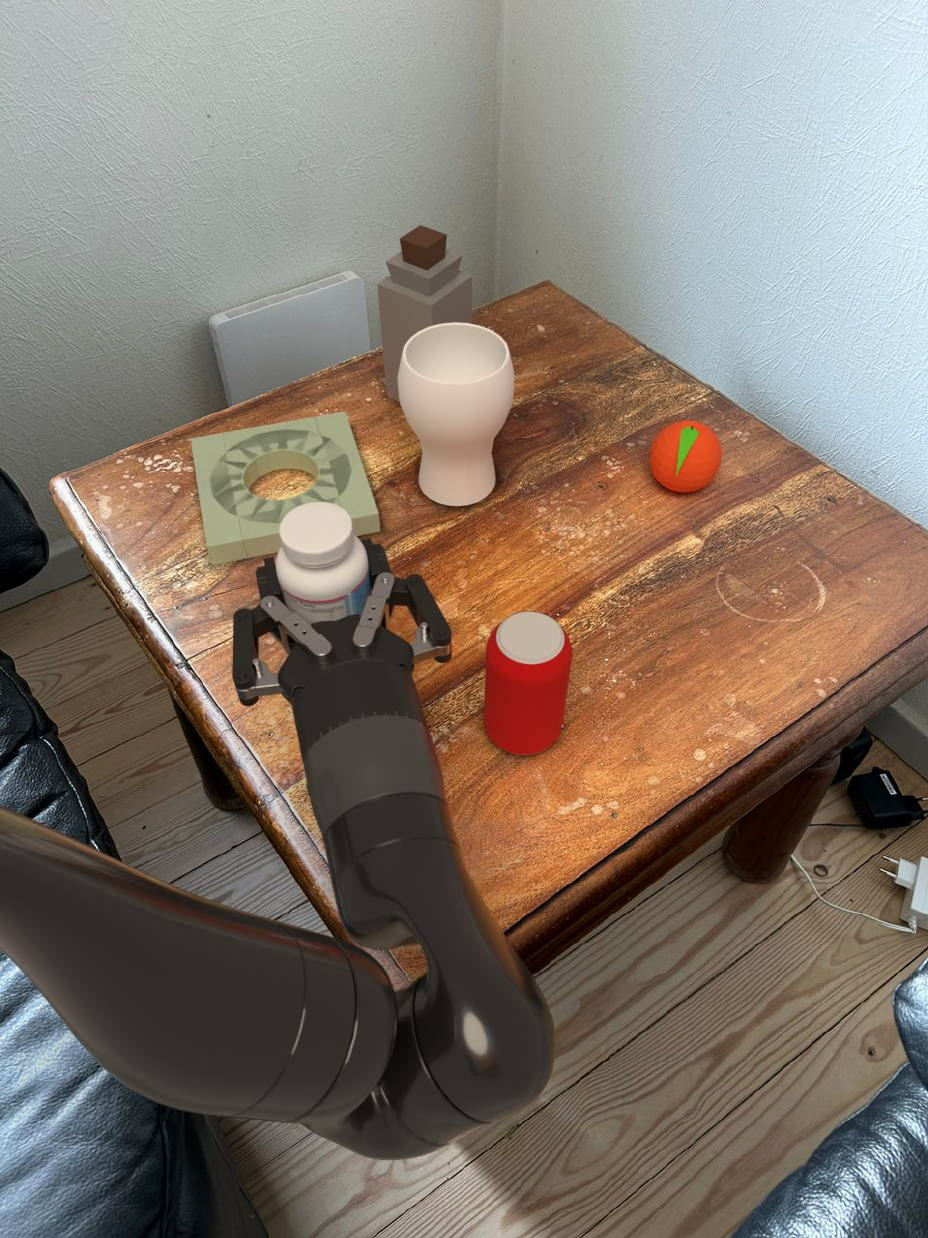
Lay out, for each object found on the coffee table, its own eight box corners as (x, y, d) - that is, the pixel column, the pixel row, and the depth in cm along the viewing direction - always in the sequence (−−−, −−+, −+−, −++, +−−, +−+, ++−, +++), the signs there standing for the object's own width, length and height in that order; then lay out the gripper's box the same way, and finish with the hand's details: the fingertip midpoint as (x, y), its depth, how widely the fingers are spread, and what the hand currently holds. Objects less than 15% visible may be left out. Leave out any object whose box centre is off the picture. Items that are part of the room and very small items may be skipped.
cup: (506, 445, 96) (512, 317, 85) (513, 516, 89) (520, 387, 78) (405, 447, 96) (396, 319, 84) (403, 518, 89) (394, 389, 78)
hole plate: (212, 565, 85) (206, 546, 83) (195, 457, 95) (190, 438, 93) (380, 531, 88) (378, 512, 86) (347, 429, 98) (345, 410, 96)
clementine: (703, 521, 89) (718, 465, 83) (633, 503, 91) (644, 446, 85) (720, 470, 94) (736, 413, 88) (653, 454, 95) (665, 397, 90)
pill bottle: (339, 593, 69) (323, 479, 60) (393, 638, 66) (384, 526, 58) (274, 637, 66) (247, 524, 58) (328, 686, 64) (308, 575, 55)
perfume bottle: (423, 366, 105) (417, 212, 91) (471, 387, 103) (472, 232, 89) (386, 396, 102) (373, 240, 88) (435, 418, 99) (430, 261, 85)
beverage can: (570, 754, 72) (585, 661, 63) (493, 768, 71) (497, 677, 62) (549, 691, 76) (561, 596, 67) (476, 704, 75) (477, 609, 66)
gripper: (490, 693, 51) (417, 496, 62) (231, 753, 49) (200, 537, 59) (487, 763, 57) (421, 572, 67) (255, 820, 54) (223, 613, 65)
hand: (318, 556), depth 63 cm, fingers closed on pill bottle, 6 cm apart
